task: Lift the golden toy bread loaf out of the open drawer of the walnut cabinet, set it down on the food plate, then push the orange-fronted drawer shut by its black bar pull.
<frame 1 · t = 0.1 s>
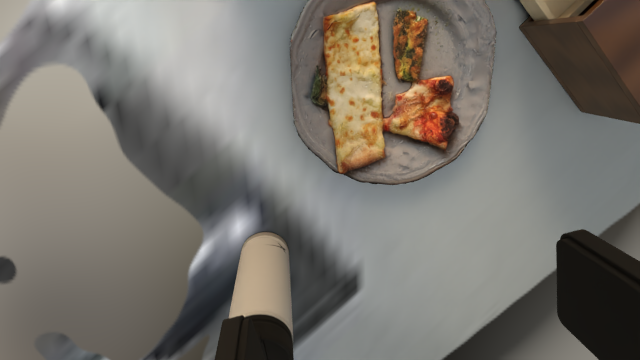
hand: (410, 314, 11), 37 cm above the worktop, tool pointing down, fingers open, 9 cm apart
cabinet: (606, 19, 46), on the worktop
food plate: (388, 80, 46), on the worktop
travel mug: (265, 250, 51), on the worktop
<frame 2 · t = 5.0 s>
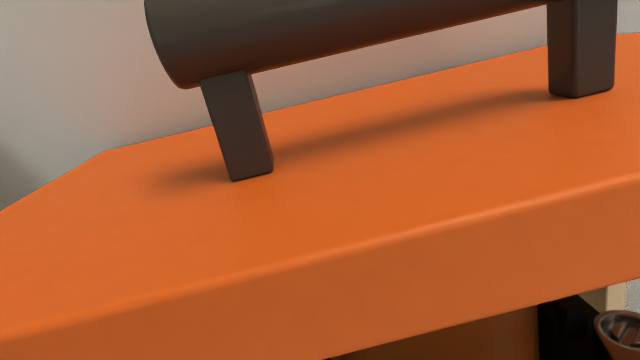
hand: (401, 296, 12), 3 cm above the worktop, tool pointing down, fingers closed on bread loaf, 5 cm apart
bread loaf: (390, 274, 13), point 2 cm above the worktop, touching drawer, gripper
drawer: (423, 323, 10), point 5 cm above the worktop, slide at 10.0 cm, touching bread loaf
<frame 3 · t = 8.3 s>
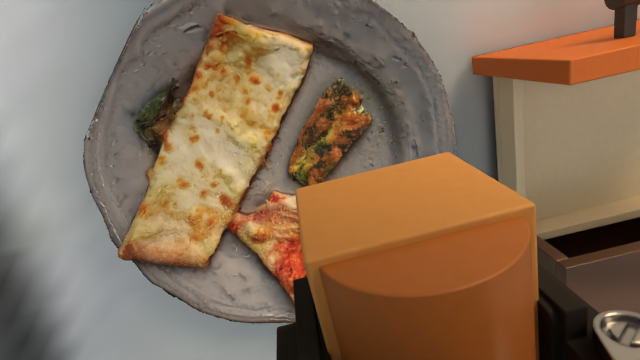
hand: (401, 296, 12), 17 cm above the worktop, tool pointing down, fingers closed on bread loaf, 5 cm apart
cabinet: (574, 254, 34), on the worktop
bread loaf: (391, 275, 13), point 16 cm above the worktop, touching gripper
food plate: (276, 164, 28), on the worktop
drawer: (638, 118, 24), point 5 cm above the worktop, slide at 10.0 cm
when the fingers open (4 cm above the worktop, at t = 12.0 s): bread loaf stays where it is, resting on food plate.
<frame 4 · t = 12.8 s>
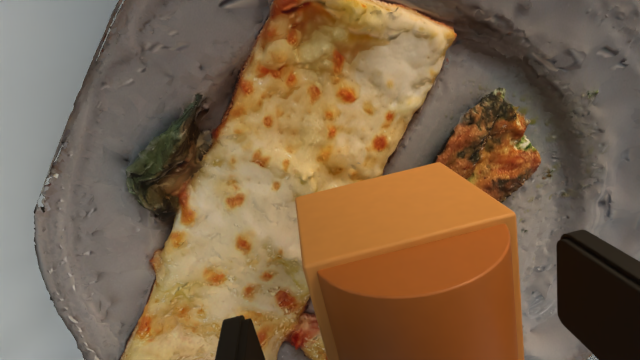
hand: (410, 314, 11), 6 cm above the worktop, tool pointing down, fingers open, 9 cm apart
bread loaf: (386, 279, 14), point 3 cm above the worktop, touching food plate
food plate: (366, 232, 17), on the worktop, touching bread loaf
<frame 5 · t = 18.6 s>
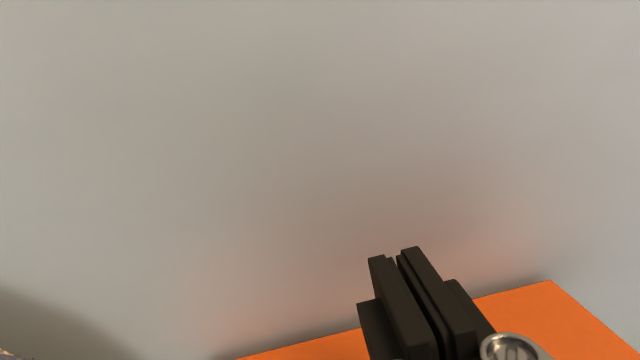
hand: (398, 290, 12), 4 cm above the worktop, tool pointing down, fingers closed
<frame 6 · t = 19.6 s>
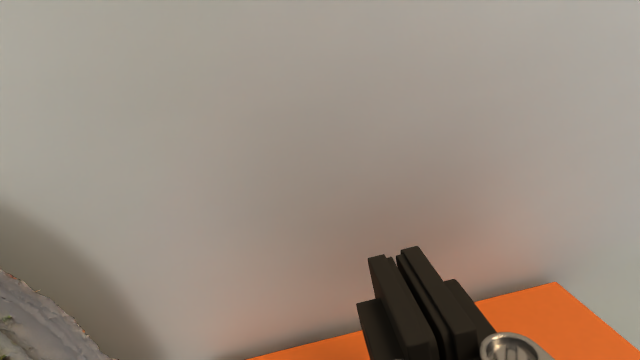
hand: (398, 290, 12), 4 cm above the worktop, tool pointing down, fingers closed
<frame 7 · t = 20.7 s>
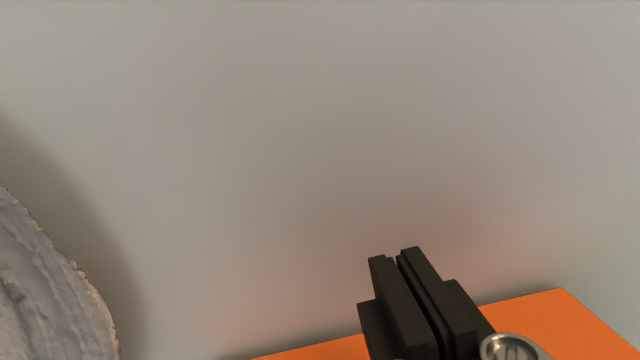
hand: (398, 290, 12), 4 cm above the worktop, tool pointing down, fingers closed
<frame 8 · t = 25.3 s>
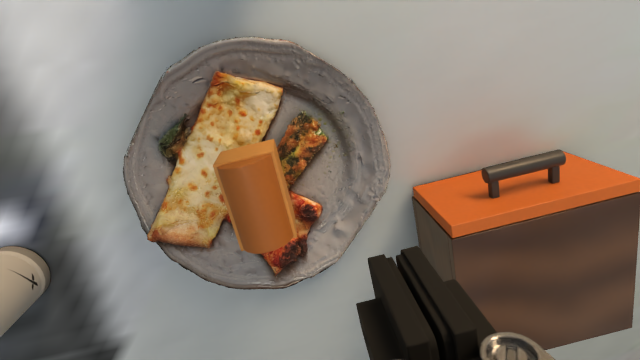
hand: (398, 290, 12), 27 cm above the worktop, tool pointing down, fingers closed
cabinet: (490, 235, 44), on the worktop
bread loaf: (259, 185, 36), point 3 cm above the worktop, touching food plate
food plate: (260, 172, 39), on the worktop, touching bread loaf
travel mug: (20, 269, 40), on the worktop
drawer: (515, 233, 38), point 5 cm above the worktop, slide at 0.0 cm
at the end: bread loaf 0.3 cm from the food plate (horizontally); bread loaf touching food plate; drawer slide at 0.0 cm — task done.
